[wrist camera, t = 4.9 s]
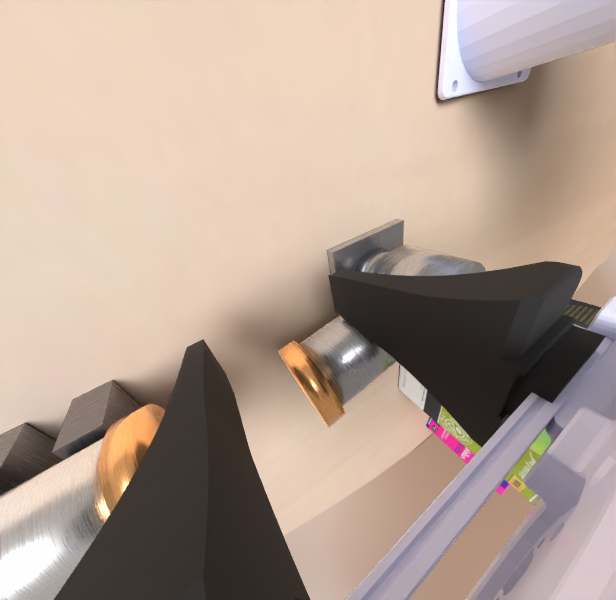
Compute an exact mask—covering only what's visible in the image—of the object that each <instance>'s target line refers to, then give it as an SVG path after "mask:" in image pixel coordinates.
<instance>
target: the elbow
mask: <svg viewBox="0 0 616 600" xmlns="http://www.w3.org/2000/svg"><path fill="white" fill-rule="evenodd" d="M479 272H486V271H485V268H484V266H483V265H482V264H480V263H478V262H474V261H470V260H466V259H462V258H458V257H454V256H450V255H446V254H442V253H438V252H434V251H430V250H426V249H422V248H418V247H414V246H409V245H404V246H400V247H397V248H395V249H393V250H392V251H390V252H389V253H388V254H387V255H385V256H384V257H383V258H382V260H381V261H380V262H379V263H378V265H377V266H376V267H375V269H374V271H373V272H372V273H378V274H390V275H406V276H442V275H458V274H470V273H479ZM278 352H279V354H280V356H281V358H282V360H283V361H284V363H285V364H286V366H287V368H288V369H289V371H290V372H291V374H292V376H293V377H294V379H295V380H296V382H297V383H298V385H299V386H300V388H301V389H302V391H303V392H304V394H305V395H306V397H307V398H308V400H309V401H310V403H311V404H312V406H313V407H314V408H315V410H316V411H317V413H318V414H319V416H320V417H321V418H322V420H323V421H324V422H325V424H326V425H327V426H328V427H330V426H331V425H333V424H334V423H335V422H336V421H337V420H338V419H340V418H341V417H342V416H343V415H344V414H345V412H344V409H343V406H344V405H345V404H346V403H347V402H349V401H350V400H351V399H352V398H353V397H354V396H356V395H357V394H358V393H359V392H360V391H362V390H363V389H364V388H365V387H366V386H368V385H369V384H370V383H371V382H372V381H374V380H375V379H376V378H377V377H378V376H379V375H381V374H382V373H383V372H384V371H385V370H387V369H388V368H389V367H390V366H391V365H393V364H394V363H395V362H396V360H395V359H394V358H393V357H392V356H391V355H389V354H388V353H387V352H386V351H384V350H383V349H382V348H380V347H379V346H378V345H376V344H375V343H374V342H372V341H371V340H369V339H368V338H367V337H365V336H364V335H363V334H361V333H360V332H359V331H357V330H356V329H355V328H354V327H352V326H351V325H350V324H348V323H347V322H346V321H345V320H344V319H343V318H342V317H341V316H340V315H339V316H338V317H336V318H335V319H333V320H332V321H331V322H329V323H328V324H326V325H325V326H323V327H322V328H321V329H319V330H318V331H316V332H315V333H313V334H312V335H311V336H309V337H308V338H306V339H305V340H303V341H302V342H301V343H299V344H298V343H297V342H296V341H294V340H293V341H292V342H290V343H289V344H287V345H286V346H284V347H283V348H281V349H280V350H279V351H278Z"/></svg>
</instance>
